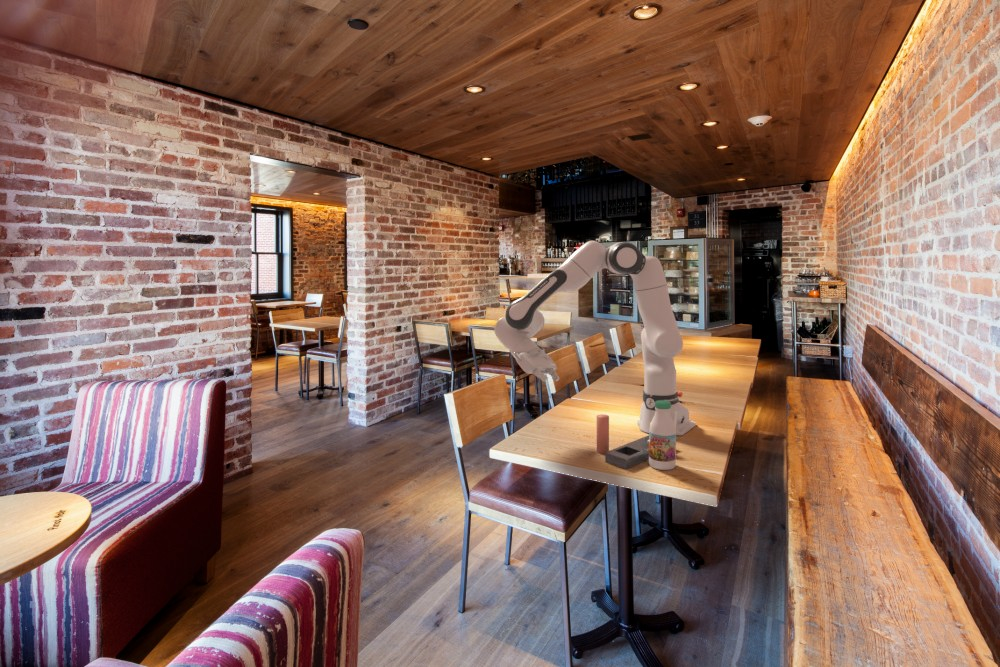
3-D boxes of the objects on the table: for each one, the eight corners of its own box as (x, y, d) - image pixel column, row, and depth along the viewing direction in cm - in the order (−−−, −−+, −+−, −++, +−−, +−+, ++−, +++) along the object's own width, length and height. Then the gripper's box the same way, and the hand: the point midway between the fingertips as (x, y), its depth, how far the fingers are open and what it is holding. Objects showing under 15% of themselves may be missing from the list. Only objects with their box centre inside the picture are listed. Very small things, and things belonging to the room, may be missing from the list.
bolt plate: (652, 442, 169) (652, 416, 167) (673, 448, 162) (673, 422, 161) (605, 461, 153) (605, 433, 152) (626, 469, 147) (626, 440, 146)
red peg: (602, 448, 165) (601, 413, 163) (611, 451, 161) (611, 416, 160) (594, 451, 162) (593, 416, 160) (603, 454, 159) (603, 419, 157)
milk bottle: (648, 459, 154) (649, 397, 151) (674, 461, 152) (675, 399, 149) (648, 469, 146) (649, 404, 144) (676, 472, 144) (677, 406, 142)
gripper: (517, 344, 167) (544, 373, 161) (544, 347, 184) (569, 373, 178) (506, 358, 168) (532, 387, 163) (534, 359, 186) (558, 385, 180)
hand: (551, 380), depth 170 cm, fingers open, 8 cm apart
